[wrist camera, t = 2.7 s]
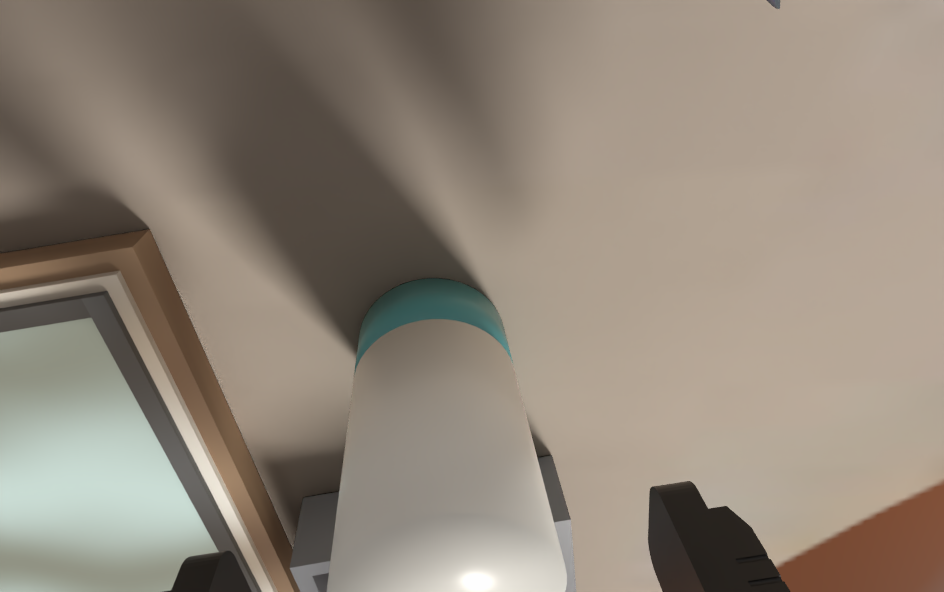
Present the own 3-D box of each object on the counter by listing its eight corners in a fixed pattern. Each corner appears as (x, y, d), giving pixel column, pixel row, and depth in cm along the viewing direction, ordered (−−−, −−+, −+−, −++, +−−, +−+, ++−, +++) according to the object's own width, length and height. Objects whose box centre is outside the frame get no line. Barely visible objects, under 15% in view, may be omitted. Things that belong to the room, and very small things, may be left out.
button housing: (302, 497, 19) (289, 568, 17) (551, 455, 19) (570, 519, 17) (360, 640, 23) (355, 712, 21) (565, 604, 23) (582, 672, 21)
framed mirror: (-320, 305, 14) (-391, 339, 13) (149, 229, 14) (125, 254, 13) (67, 714, 23) (49, 756, 22) (344, 666, 24) (340, 704, 22)
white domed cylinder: (343, 291, 15) (295, 537, 9) (495, 266, 15) (559, 492, 9) (376, 409, 17) (357, 679, 11) (511, 386, 17) (572, 642, 11)
